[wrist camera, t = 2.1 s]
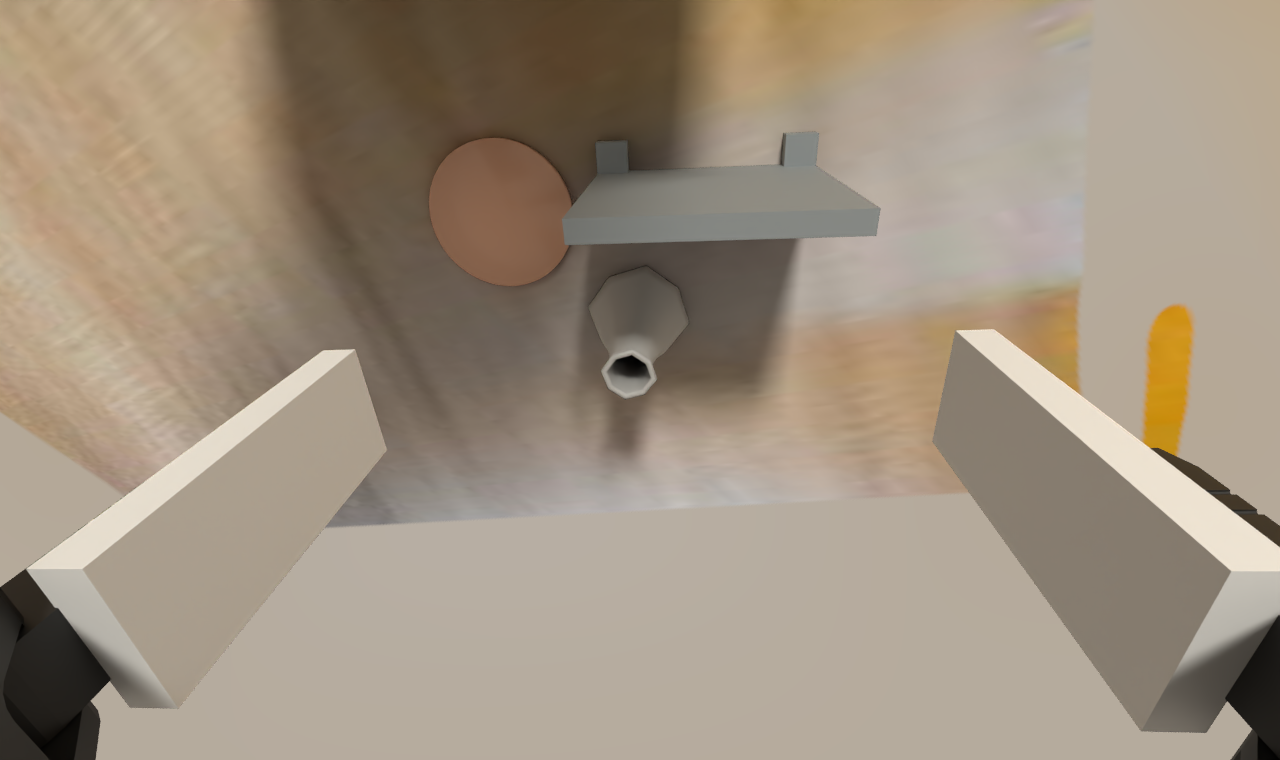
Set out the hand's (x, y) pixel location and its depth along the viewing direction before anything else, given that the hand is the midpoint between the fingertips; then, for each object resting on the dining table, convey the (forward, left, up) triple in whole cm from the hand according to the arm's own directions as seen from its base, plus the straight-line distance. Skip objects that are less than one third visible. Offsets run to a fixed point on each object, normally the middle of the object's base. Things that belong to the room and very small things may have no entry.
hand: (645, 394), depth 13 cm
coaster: (+2, -12, -29) cm, 31 cm away
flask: (+9, -2, -29) cm, 31 cm away
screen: (0, +2, -29) cm, 29 cm away
